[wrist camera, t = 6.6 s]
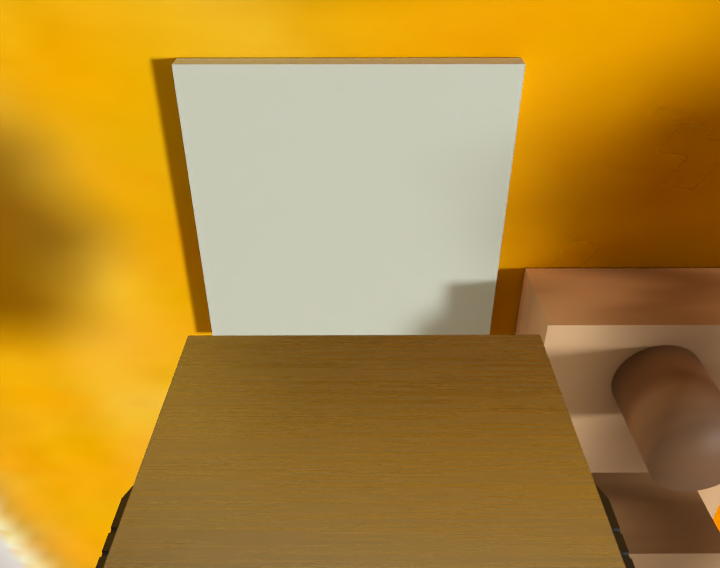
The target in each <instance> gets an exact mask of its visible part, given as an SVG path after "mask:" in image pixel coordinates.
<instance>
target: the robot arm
mask: <svg viewBox="0 0 720 568" xmlns="http://www.w3.org/2000/svg"><path fill="white" fill-rule="evenodd" d="M595 485H596V484H595ZM132 488H133V486H132V487H131V489H130V490H129V491H128V492H127V493H126V494H125V495H124V497H123V498H122V499H121V502H120V504H119V507H118V510H117V512H116V515H115V518H114V520H113V523H112V526H111V532H110V533H109V534H108V536H107V539H106V542H105V544H104V547H103V550H102V556H101V557H100V558H99V560H98V563H97V566H96V568H104V565H105V562H106V559H107V557H108V554H109V551H110V548H111V546H112V543H113V540H114V537H115V535H116V532H117V529H118V526H119V524H120V521H121V518H122V516H123V513H124V510H125V507H126V505H127V502H128V499H129V496H130V494H131V491H132ZM596 488H597V491H598V494H599V496H600V499H601V502H602V504H603V507H604V510H605V513H606V515H607V518H608V521H609V523H610V526H611V529H612V532H613V534H614V537H615V540H616V542H617V545H618V548H619V551H620V553H621V556H622V559H623V561H624V564H625V567H626V568H635V566H634V563H633V561H632V558H630V557H629V550H628V548H627V545H626V542H625V540H624V537H623V535H622V534H621V533H620V527H619V524H618V521H617V519H616V516H615V514H614V511H613V508H612V506H611V503H610V500H609V499H608V497H607V496H606V495H605V494H604V493H603V492H602V491H601V490H600V488H599V487H598V486H597V485H596Z"/></svg>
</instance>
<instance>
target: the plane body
mask: <svg viewBox="0 0 720 568" xmlns="http://www.w3.org/2000/svg"><path fill="white" fill-rule="evenodd" d="M515 335H540V336H541V339H542V342H543V344H544V347H545V350H546V352H547V355H548V358H549V361H550V363H551V366H552V369H553V371H554V374H555V377H556V380H557V382H558V385H559V388H560V390H561V393H562V396H563V399H564V401H565V404H566V407H567V409H568V412H569V415H570V418H571V420H572V423H573V426H574V428H575V431H576V434H577V437H578V439H579V442H580V445H581V447H582V450H583V453H584V456H585V458H586V461H587V464H588V466H589V469H590V472H591V475H592V477H593V480H594V483H595V484H596V485H597V486H598V487H599V488H600V490H601V491H602V492H603V493H604V494H605V495H606V496H607V497H608V499H609V500H610V503H611V506H612V508H613V511H614V514H615V516H616V519H617V521H618V524H619V527H620V533H621V534H622V535H623V537H624V540H625V542H626V545H627V548H628V550H629V557H630V558H632V561H633V563H634V566H635V568H720V532H719V531H718V529H717V527H716V525H715V523H714V521H713V517H714V515H715V513H716V511H717V509H718V506H719V504H720V268H525V273H524V280H523V286H522V292H521V299H520V305H519V311H518V318H517V324H516V330H515Z"/></svg>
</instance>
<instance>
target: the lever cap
mask: <svg viewBox="0 0 720 568" xmlns="http://www.w3.org/2000/svg"><path fill="white" fill-rule="evenodd" d="M104 568H626V567H625V564H624V561H623V559H622V556H621V553H620V551H619V548H618V545H617V542H616V540H615V537H614V534H613V532H612V529H611V526H610V523H609V521H608V518H607V515H606V513H605V510H604V507H603V504H602V502H601V499H600V496H599V494H598V491H597V488H596V485H595V483H594V480H593V477H592V475H591V472H590V469H589V466H588V464H587V461H586V458H585V456H584V453H583V450H582V447H581V445H580V442H579V439H578V437H577V434H576V431H575V428H574V426H573V423H572V420H571V418H570V415H569V412H568V409H567V407H566V404H565V401H564V399H563V396H562V393H561V390H560V388H559V385H558V382H557V380H556V377H555V374H554V371H553V369H552V366H551V363H550V361H549V358H548V355H547V352H546V350H545V347H544V344H543V342H542V339H541V336H540V335H221V336H188V338H187V340H186V343H185V346H184V349H183V351H182V354H181V357H180V360H179V362H178V365H177V368H176V370H175V373H174V376H173V379H172V381H171V384H170V387H169V390H168V392H167V395H166V398H165V401H164V403H163V406H162V409H161V412H160V414H159V417H158V420H157V422H156V425H155V428H154V431H153V433H152V436H151V439H150V442H149V444H148V447H147V450H146V453H145V455H144V458H143V461H142V464H141V466H140V469H139V472H138V474H137V477H136V480H135V483H134V485H133V488H132V491H131V494H130V496H129V499H128V502H127V505H126V507H125V510H124V513H123V516H122V518H121V521H120V524H119V526H118V529H117V532H116V535H115V537H114V540H113V543H112V546H111V548H110V551H109V554H108V557H107V559H106V562H105V565H104Z"/></svg>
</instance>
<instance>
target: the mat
mask: <svg viewBox="0 0 720 568" xmlns="http://www.w3.org/2000/svg"><path fill="white" fill-rule="evenodd" d="M172 71H173V77H174V84H175V90H176V97H177V104H178V110H179V117H180V123H181V130H182V137H183V143H184V150H185V156H186V163H187V170H188V176H189V183H190V189H191V196H192V203H193V209H194V216H195V222H196V229H197V236H198V242H199V249H200V255H201V262H202V269H203V275H204V282H205V288H206V295H207V302H208V308H209V315H210V321H211V328H212V335H213V336H221V335H489V334H490V327H491V319H492V312H493V304H494V297H495V289H496V282H497V274H498V267H499V259H500V252H501V244H502V237H503V229H504V221H505V214H506V206H507V199H508V191H509V184H510V176H511V169H512V161H513V154H514V146H515V139H516V131H517V123H518V116H519V108H520V101H521V93H522V86H523V78H524V71H525V63H524V62H523V60H522V59H521V58H177V59H176V60H175V61H174V62H173V63H172Z"/></svg>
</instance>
